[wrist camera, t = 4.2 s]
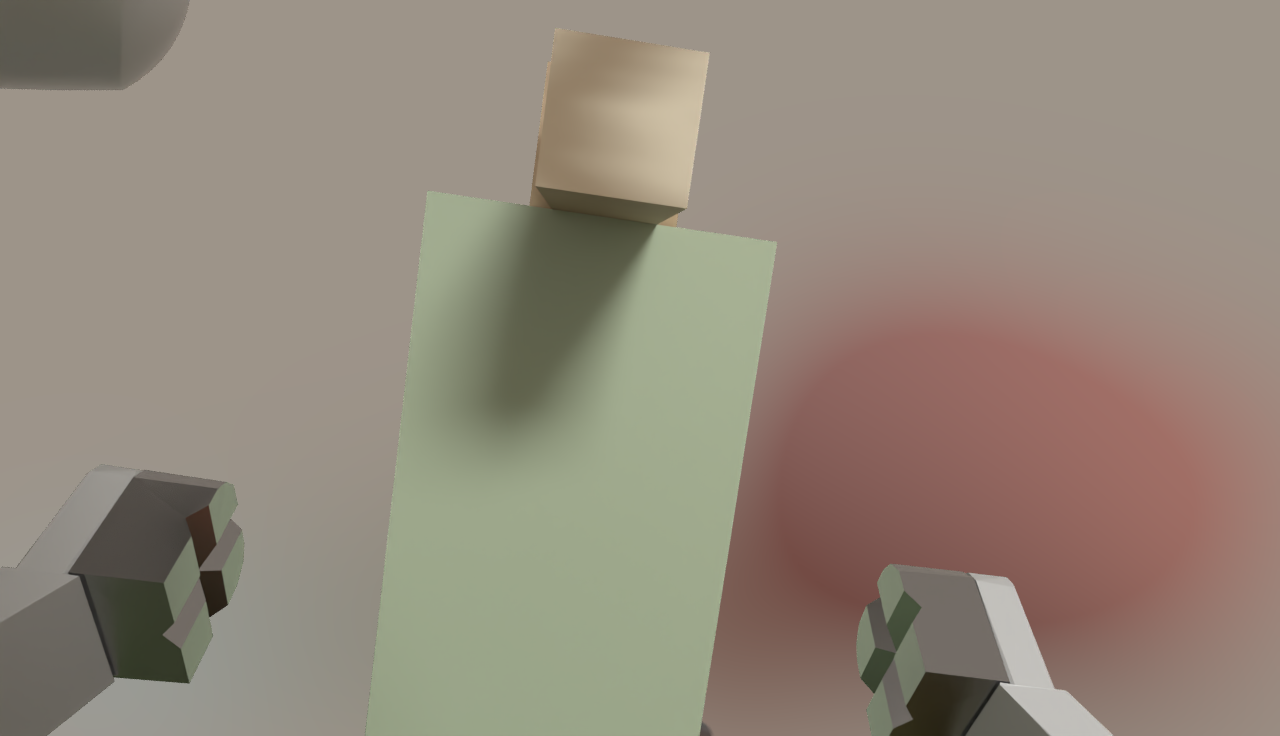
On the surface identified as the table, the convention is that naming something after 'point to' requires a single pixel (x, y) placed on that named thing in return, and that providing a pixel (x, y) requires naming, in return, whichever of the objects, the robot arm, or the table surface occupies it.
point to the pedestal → (564, 473)
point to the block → (618, 128)
